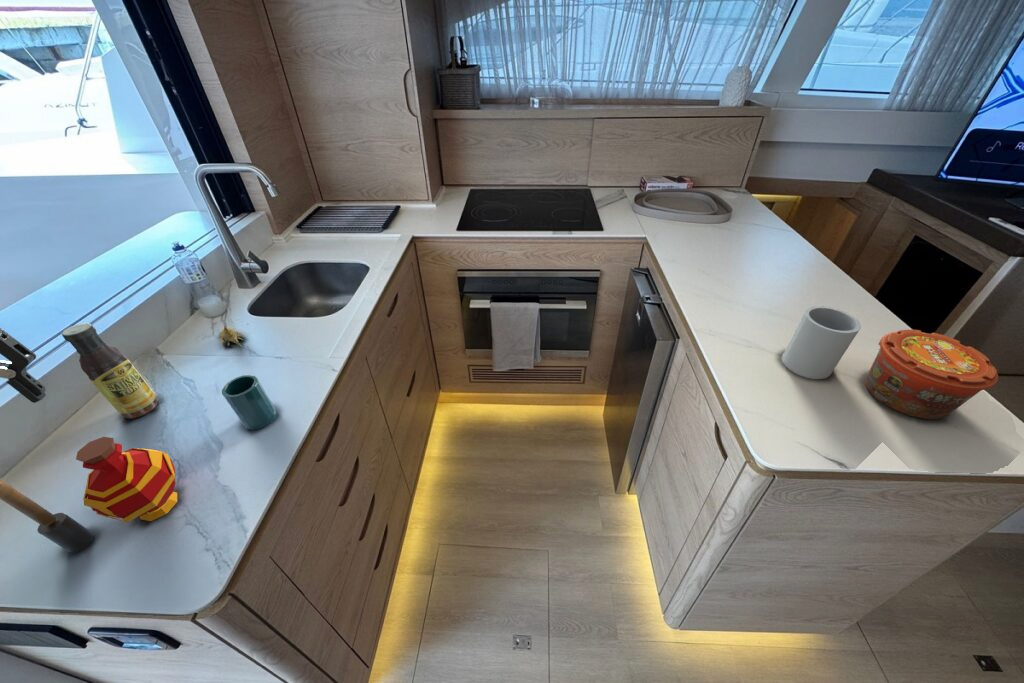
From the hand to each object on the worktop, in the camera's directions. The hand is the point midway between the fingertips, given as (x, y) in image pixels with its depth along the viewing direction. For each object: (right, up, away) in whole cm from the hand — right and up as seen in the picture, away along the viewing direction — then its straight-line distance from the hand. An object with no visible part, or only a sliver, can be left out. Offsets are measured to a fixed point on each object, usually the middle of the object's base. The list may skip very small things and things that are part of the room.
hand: (0, 418), depth 49 cm
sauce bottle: (-11, -4, +31) cm, 33 cm away
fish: (-4, +9, +47) cm, 48 cm away
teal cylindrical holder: (+15, -5, +28) cm, 32 cm away
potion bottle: (+7, -17, +14) cm, 23 cm away
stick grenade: (0, -20, +9) cm, 23 cm away
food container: (+142, -1, +28) cm, 144 cm away
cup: (+128, +5, +35) cm, 133 cm away
